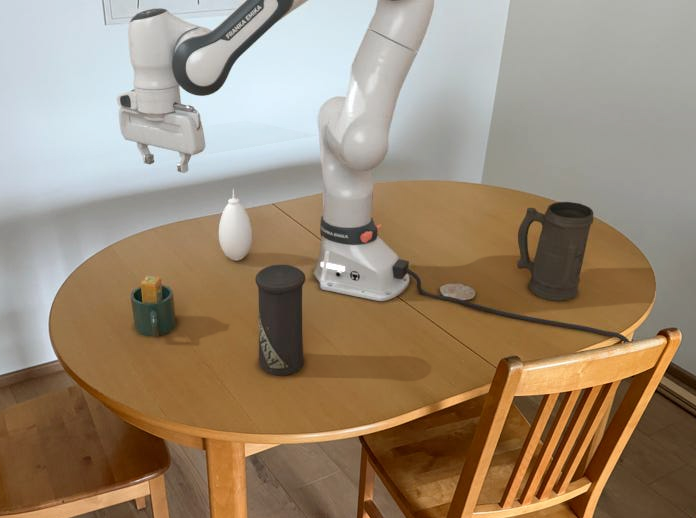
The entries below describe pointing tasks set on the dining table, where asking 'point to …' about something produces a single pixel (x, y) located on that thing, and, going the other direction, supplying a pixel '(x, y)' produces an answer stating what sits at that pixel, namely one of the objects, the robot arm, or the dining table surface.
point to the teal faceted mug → (154, 313)
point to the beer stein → (556, 249)
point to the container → (280, 319)
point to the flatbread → (458, 291)
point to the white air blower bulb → (235, 230)
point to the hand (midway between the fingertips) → (165, 167)
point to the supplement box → (151, 289)
